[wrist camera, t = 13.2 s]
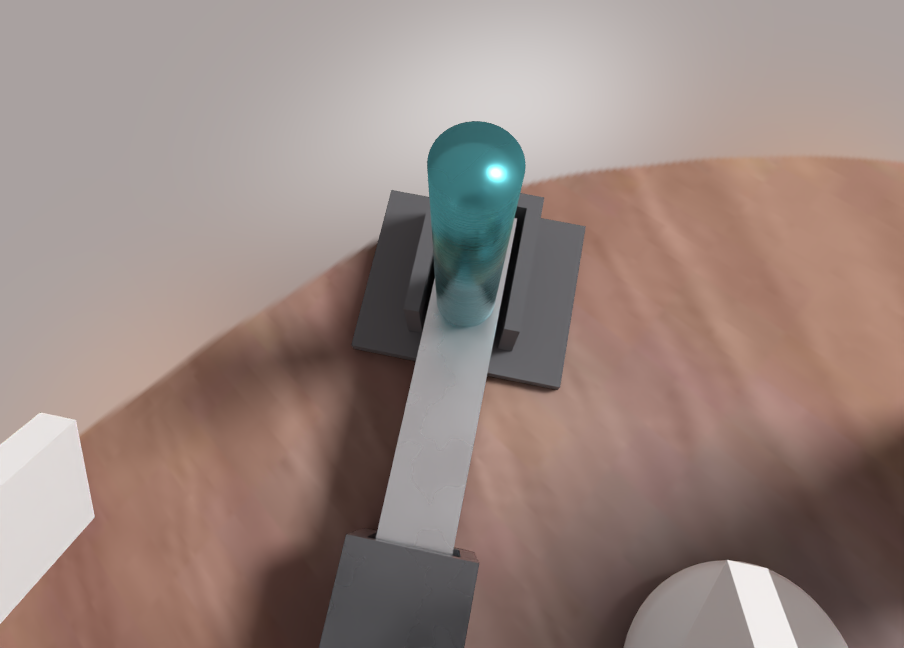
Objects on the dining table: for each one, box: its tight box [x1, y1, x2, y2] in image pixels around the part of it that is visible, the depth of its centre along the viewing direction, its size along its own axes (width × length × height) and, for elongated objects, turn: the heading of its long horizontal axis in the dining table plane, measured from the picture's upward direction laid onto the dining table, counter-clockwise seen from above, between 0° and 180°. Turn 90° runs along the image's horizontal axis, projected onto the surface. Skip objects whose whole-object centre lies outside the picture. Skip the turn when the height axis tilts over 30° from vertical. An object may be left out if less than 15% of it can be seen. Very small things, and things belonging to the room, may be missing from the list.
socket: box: [352, 190, 586, 390], centre depth 34 cm, size 12×10×5 cm
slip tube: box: [376, 121, 525, 556], centre depth 25 cm, size 4×20×17 cm, turn 168°
